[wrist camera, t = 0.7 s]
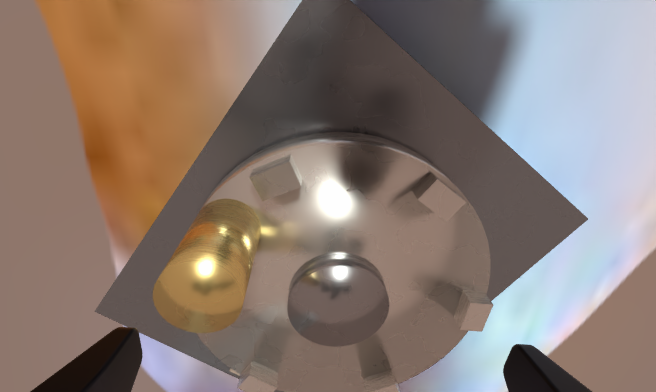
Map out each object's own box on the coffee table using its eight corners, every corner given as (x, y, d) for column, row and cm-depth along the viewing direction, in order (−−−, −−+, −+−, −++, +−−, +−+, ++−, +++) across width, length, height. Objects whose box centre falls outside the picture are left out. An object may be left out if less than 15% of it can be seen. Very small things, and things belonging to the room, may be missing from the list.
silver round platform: (532, 244, 20) (633, 341, 14) (352, 400, 25) (366, 525, 19) (305, 59, 16) (302, 78, 9) (139, 294, 21) (62, 411, 14)
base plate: (319, -21, 16) (320, -28, 14) (565, 203, 22) (590, 220, 20) (111, 289, 23) (92, 313, 21) (340, 401, 29) (342, 429, 27)
